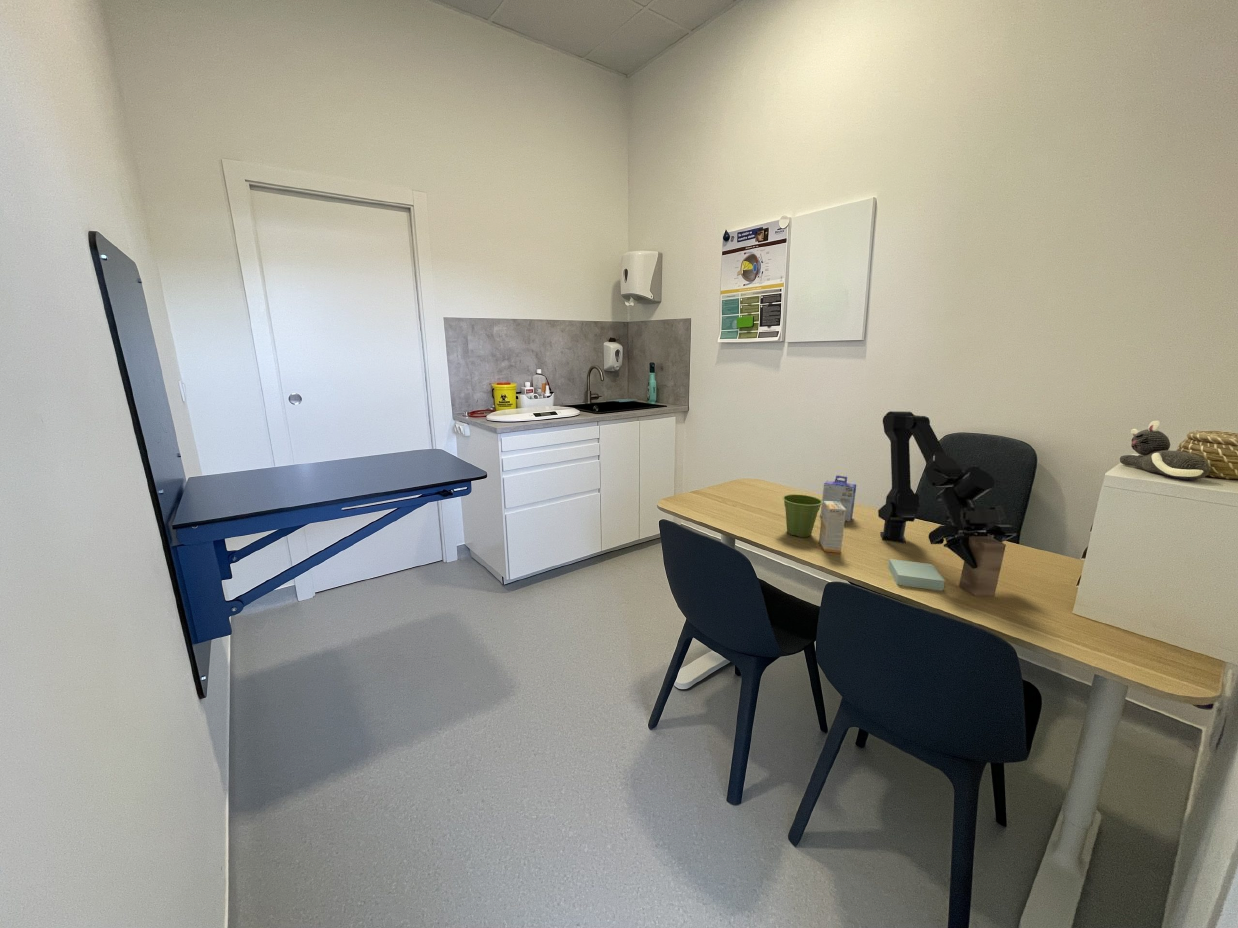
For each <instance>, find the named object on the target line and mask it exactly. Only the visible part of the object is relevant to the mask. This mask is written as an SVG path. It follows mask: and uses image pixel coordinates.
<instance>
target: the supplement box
mask: <svg viewBox="0 0 1238 928" xmlns="http://www.w3.org/2000/svg"><path fill="white" fill-rule="evenodd" d="M845 515H846V509H845V508H844V507H843V506H842V504H841V503H840V502H836V501H823V510H822V516H821V518H820V519H821V521H820V528H819V537H818V543H819V545H820V546H821V548H822V550H823V552H828V553H837V554H838V553H839V554H840V553H841V552H842V546H843V538H844V529H845V522H846V521H845Z"/></svg>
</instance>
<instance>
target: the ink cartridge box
mask: <svg viewBox="0 0 1238 928" xmlns="http://www.w3.org/2000/svg"><path fill="white" fill-rule="evenodd" d="M842 479H843V480H842ZM847 481H848V476H843V475H838V474H837V475H836V476H835V479H834V481H832V480H826V481H825V482H823V490H822V498H821V500H822V501H836V502H840V503H841V504H842V506H843V507H844V508H845V509H846V515H845V522H851V521H852V519H853V514H854V507H855V500H856V491H857V484H855V483H850V482H847ZM822 510H823V503H822V504H821V505H820V514H819V516H820V517H822Z"/></svg>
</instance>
